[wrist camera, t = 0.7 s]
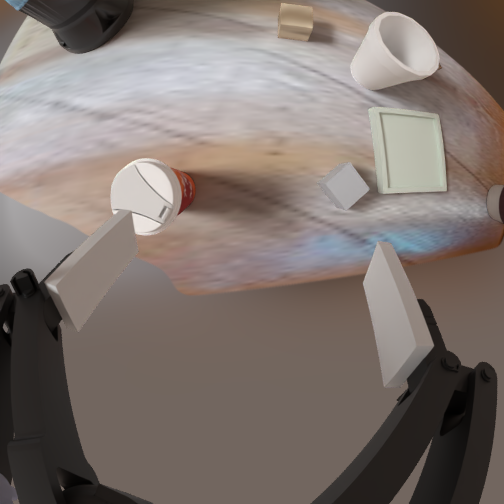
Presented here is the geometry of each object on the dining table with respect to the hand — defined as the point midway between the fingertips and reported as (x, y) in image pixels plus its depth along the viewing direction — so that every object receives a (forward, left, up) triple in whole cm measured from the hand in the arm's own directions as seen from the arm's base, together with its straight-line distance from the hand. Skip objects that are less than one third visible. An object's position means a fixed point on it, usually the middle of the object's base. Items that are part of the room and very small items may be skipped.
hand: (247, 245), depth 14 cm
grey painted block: (-1, +13, -25) cm, 28 cm away
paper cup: (-3, -10, -25) cm, 27 cm away
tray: (-6, +26, -25) cm, 37 cm away
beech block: (-27, +10, -25) cm, 38 cm away
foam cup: (-19, +21, -25) cm, 38 cm away
